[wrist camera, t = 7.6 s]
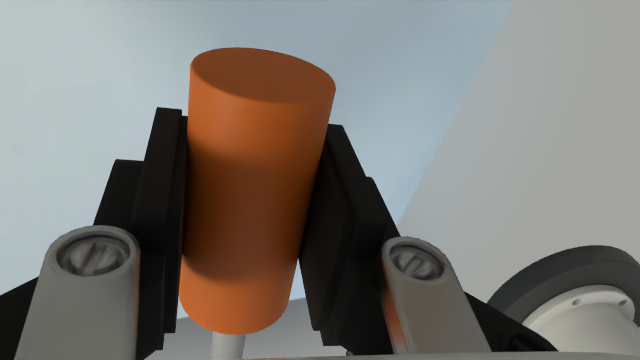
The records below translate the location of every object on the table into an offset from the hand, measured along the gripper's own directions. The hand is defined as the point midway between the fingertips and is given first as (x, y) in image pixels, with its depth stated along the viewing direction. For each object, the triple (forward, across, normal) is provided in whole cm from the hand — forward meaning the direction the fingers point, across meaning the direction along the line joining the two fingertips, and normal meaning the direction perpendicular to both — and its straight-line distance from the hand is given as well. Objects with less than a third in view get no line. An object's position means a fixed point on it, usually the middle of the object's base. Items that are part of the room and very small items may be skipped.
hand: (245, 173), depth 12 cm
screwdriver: (0, 0, +3) cm, 3 cm away
